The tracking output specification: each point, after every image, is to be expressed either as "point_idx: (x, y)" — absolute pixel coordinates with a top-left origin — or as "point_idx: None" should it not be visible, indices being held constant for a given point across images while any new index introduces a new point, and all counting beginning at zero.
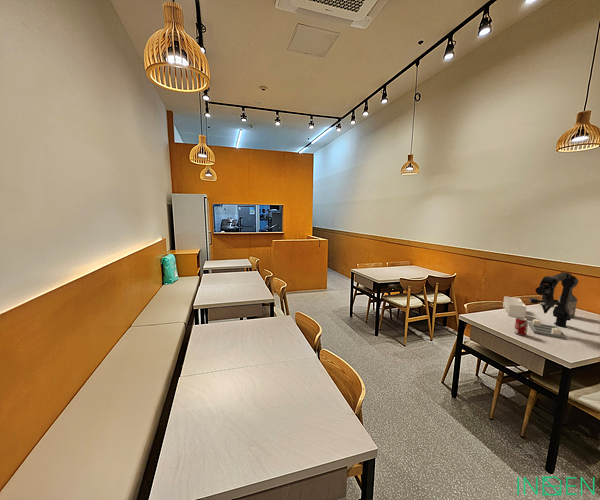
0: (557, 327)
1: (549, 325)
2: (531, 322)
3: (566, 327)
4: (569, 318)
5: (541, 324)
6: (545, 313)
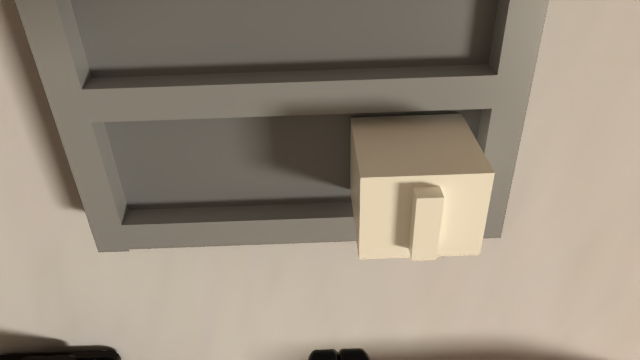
0: (87, 214)
1: (200, 237)
2: None
3: (5, 355)
4: None
5: (318, 215)
6: (328, 349)
